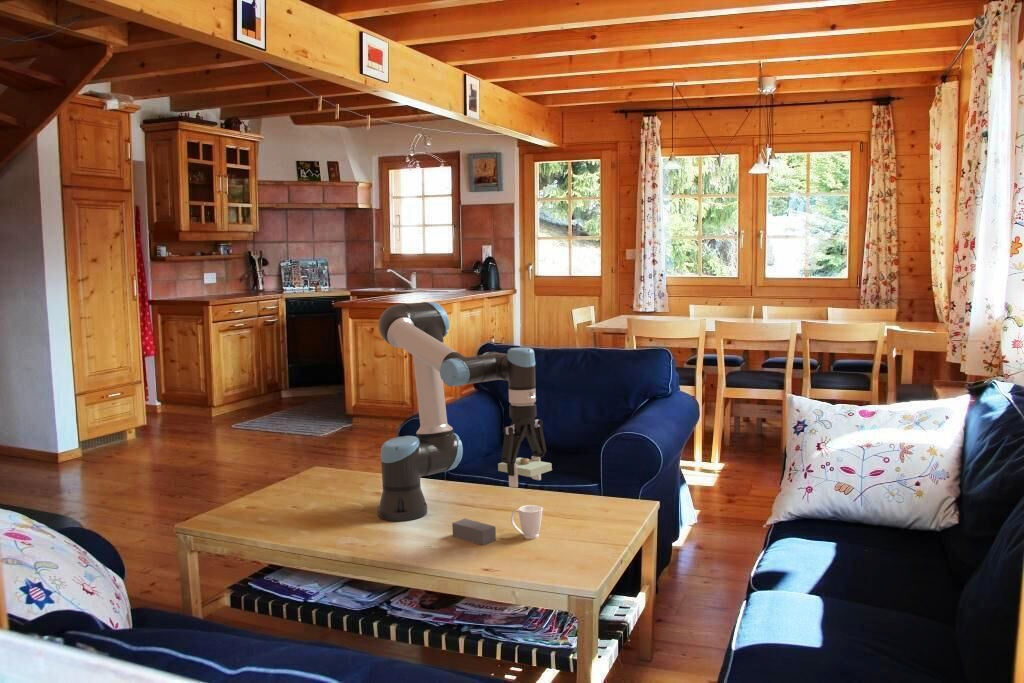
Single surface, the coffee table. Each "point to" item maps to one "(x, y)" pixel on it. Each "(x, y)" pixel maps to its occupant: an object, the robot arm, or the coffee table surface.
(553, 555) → the coffee table surface
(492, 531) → the block
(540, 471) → the lid
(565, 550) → the coffee table surface
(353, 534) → the coffee table surface
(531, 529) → the cup
